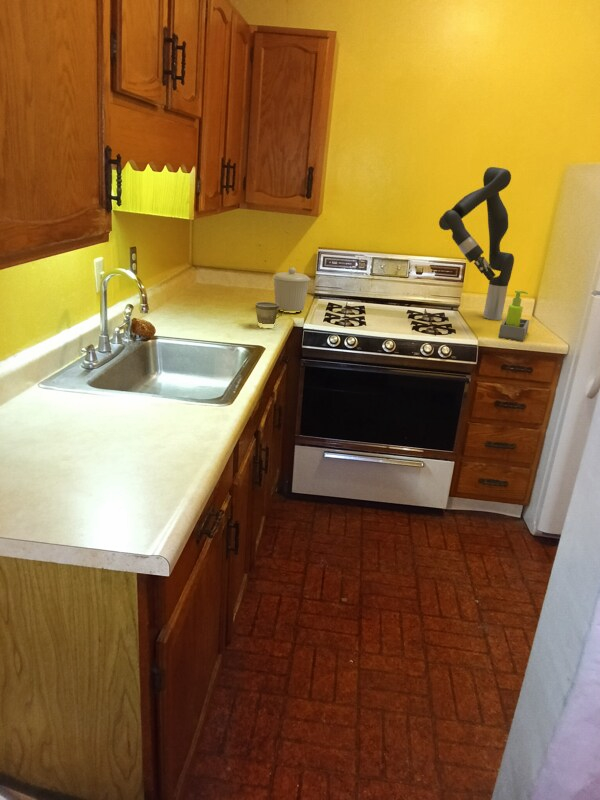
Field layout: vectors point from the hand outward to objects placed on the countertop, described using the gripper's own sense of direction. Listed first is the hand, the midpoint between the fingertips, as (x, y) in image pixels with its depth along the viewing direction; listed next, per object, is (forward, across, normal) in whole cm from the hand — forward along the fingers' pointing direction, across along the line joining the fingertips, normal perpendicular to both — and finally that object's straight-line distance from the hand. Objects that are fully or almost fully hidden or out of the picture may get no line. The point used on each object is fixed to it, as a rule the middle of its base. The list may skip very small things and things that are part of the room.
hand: (492, 278), depth 277 cm
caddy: (+27, +3, +8) cm, 28 cm away
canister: (-46, -22, +80) cm, 95 cm away
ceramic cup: (-41, -58, +75) cm, 103 cm away
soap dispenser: (+26, -2, +8) cm, 27 cm away
